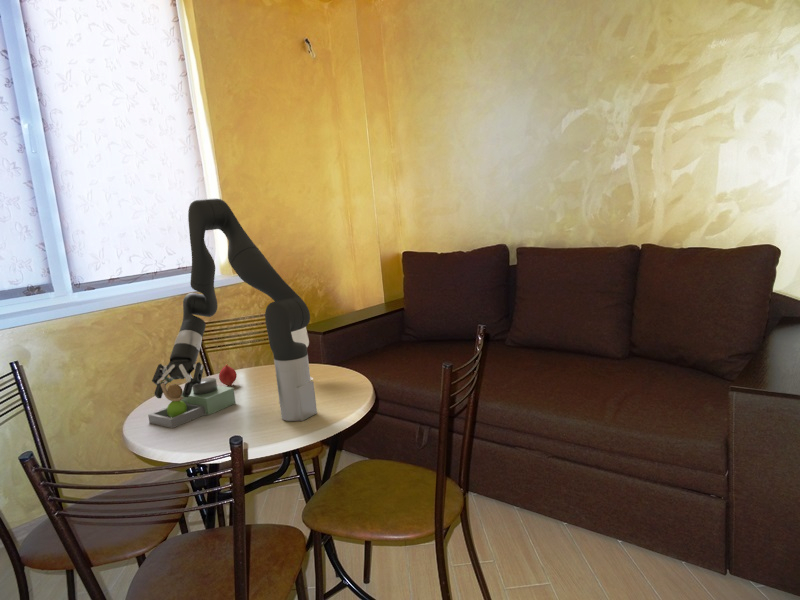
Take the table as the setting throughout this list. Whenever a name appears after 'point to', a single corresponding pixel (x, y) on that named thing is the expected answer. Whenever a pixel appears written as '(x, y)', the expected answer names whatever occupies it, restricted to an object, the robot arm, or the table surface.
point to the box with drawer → (197, 403)
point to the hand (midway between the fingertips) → (171, 396)
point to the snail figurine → (174, 400)
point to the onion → (227, 375)
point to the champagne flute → (301, 337)
